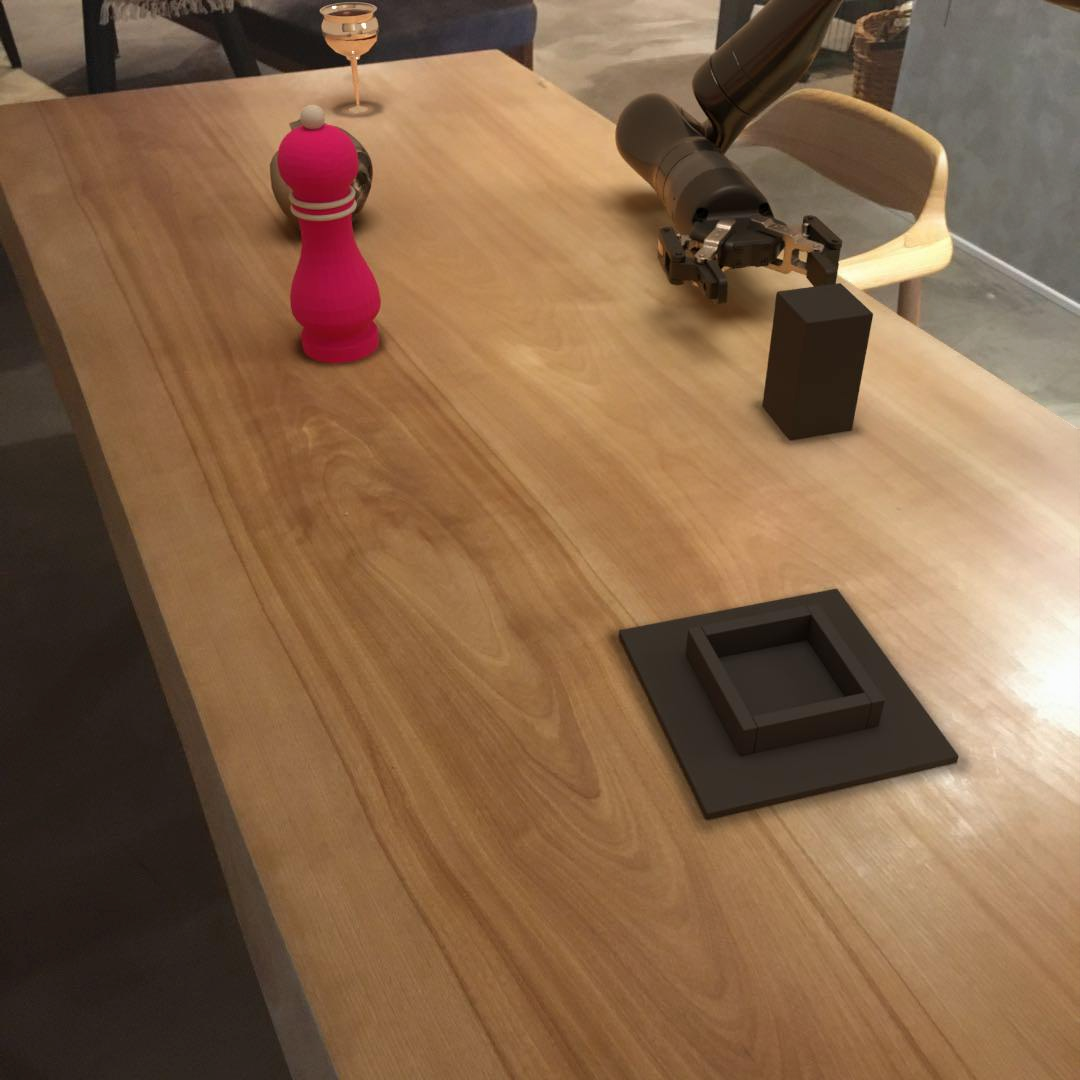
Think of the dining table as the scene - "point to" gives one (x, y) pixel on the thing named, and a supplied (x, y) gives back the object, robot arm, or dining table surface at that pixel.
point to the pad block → (816, 360)
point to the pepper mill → (328, 243)
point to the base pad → (781, 702)
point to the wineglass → (350, 34)
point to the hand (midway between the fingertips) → (776, 288)
